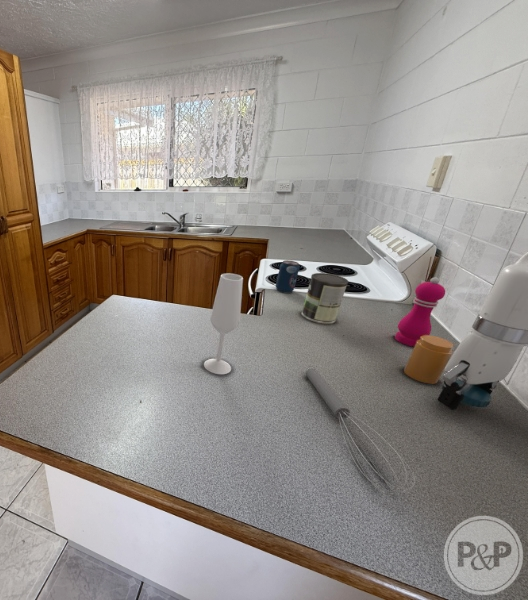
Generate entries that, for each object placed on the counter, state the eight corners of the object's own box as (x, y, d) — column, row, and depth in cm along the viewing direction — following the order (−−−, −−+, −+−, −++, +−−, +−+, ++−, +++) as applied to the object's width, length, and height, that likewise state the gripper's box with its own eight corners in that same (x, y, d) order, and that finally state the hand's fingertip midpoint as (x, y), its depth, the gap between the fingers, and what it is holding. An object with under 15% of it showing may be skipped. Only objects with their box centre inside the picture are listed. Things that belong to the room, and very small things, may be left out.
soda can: (292, 294, 124) (299, 266, 119) (273, 291, 127) (279, 262, 123) (294, 289, 129) (301, 261, 125) (276, 286, 133) (282, 258, 128)
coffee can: (296, 316, 106) (307, 277, 100) (307, 307, 113) (317, 270, 107) (330, 327, 99) (343, 286, 94) (339, 317, 106) (352, 278, 100)
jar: (429, 370, 79) (445, 336, 75) (443, 386, 73) (462, 350, 69) (399, 365, 81) (413, 332, 77) (411, 380, 75) (427, 345, 71)
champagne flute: (223, 378, 75) (239, 284, 65) (198, 366, 79) (210, 276, 69) (235, 366, 79) (252, 276, 69) (212, 355, 83) (224, 270, 74)
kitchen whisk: (319, 372, 77) (326, 351, 75) (415, 510, 47) (433, 482, 44) (293, 370, 78) (299, 348, 75) (371, 505, 47) (386, 476, 45)
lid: (453, 403, 63) (457, 396, 63) (434, 382, 69) (437, 376, 69) (497, 411, 61) (501, 404, 61) (473, 389, 68) (477, 382, 67)
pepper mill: (421, 339, 93) (450, 276, 85) (426, 350, 88) (458, 284, 80) (391, 332, 97) (416, 271, 89) (394, 343, 91) (421, 278, 83)
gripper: (510, 317, 64) (470, 386, 71) (444, 323, 61) (409, 396, 68) (563, 335, 57) (513, 410, 65) (492, 344, 54) (448, 421, 61)
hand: (460, 402), depth 66 cm, fingers closed on lid, 6 cm apart
